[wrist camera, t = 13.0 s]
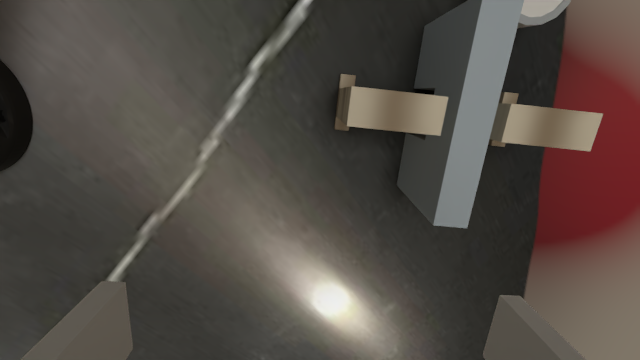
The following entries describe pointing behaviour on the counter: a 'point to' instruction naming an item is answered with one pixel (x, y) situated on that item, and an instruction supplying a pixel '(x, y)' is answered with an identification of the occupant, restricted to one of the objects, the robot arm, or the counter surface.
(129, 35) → the counter surface
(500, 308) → the robot arm
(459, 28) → the slotted plate
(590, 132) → the slotted stand
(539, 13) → the white cylinder
